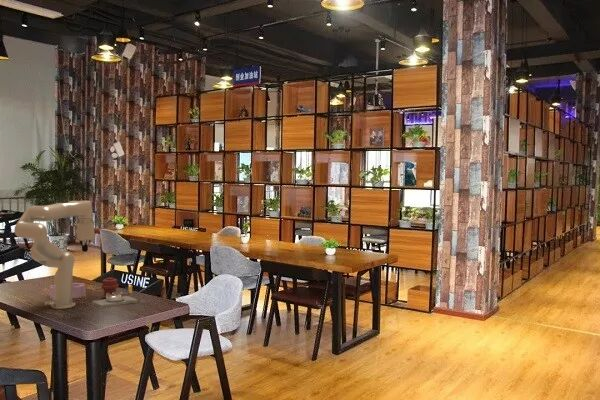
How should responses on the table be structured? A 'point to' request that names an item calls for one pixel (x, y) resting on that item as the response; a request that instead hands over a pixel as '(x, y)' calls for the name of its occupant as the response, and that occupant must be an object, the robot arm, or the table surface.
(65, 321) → the table surface
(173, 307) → the table surface
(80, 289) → the pink rectangular box
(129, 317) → the table surface
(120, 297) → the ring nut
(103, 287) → the mechanical component
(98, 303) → the base plate
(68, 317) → the table surface
